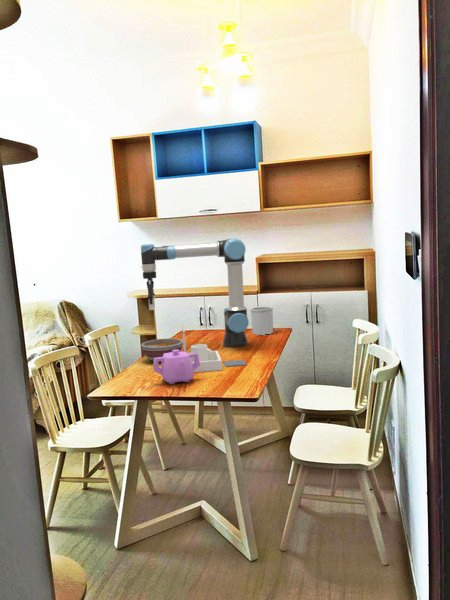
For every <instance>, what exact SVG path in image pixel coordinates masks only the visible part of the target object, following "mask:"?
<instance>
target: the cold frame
mask: <svg viewBox="0 0 450 600" xmlns="http://www.w3.org/2000/svg"><path fill="white" fill-rule="evenodd" d="M181 329H182V342H183V345H182V346H183V351H184V352H186V353H188V354H191V352H187V345H186V344H187V343H186V329H185V325H184V323H181ZM211 351H212V352H213V354H214V359H213V355H212V353H210V352H208V360H212V359H213V361H201V362H200V366H199V367H197V368H196V369H195V370H194V371H193V372H194V373H205V372H217V371H223V361H222V358H221V356H220V353H219V351H218V350H211ZM190 360H191V362H192V357H191V358H190ZM193 363H194V362H192V364H193Z"/></svg>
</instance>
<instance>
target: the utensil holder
mask: <svg viewBox="0 0 450 600" xmlns="http://www.w3.org/2000/svg"><path fill="white" fill-rule="evenodd" d="M273 309H274V308H273V306H270V305H261V306H253V307H250V310H249V311H250V317H251V328H252V329H251V330H252V335H253V334H257V335H256V336H258V335H263V336H266V335H265V334H270V335H272V334H271V333H273V334H274V317H273Z"/></svg>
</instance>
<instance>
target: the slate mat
mask: <svg viewBox="0 0 450 600" xmlns="http://www.w3.org/2000/svg"><path fill="white" fill-rule="evenodd" d="M222 364H223V365H224V367H225V368H229V367H243V366H247V362H246V361H245V359H233V360H223V361H222Z"/></svg>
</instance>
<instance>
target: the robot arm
mask: <svg viewBox="0 0 450 600" xmlns="http://www.w3.org/2000/svg"><path fill="white" fill-rule="evenodd" d="M245 254H246V245H245V244H244V241H242V240H241V239H239V238H236V237H235V238H228V239H227V238H226V239H224V240H217V241H216V242H207V243H206V242H205V243H193V244H192V243H191V244H190V243H189V244H178V245H176V244H175V245H162V246H155V244H154V243H149V244H148V243H147V244H141V246H140V255H141V267H140V268H142V279H144V280H147V281H146V287H147V297H146V299H148V311H155V296H156V293H155V292H154V285H155V283H154V280H153V279H156V278H157V271H156V270H157V268H156V267H157V265H156V261H167V260H168V261H170V260H175V259H182V258H185V259H186V258H197V257H199V258H200V257H213V256H214V257H215V256H217V257H218V258H224V259H223V260H224V263H225V264H226V265H227V285H228V289H227V290H228V307H225V308H224V309H223V316H224V332H225V334H224V337H223V341H222V345H223V347H226V348H237V347H238V348H239V347H244V346H247V345H248V344H249V342H248V338H247V336H246V332H245V330H247V328H248V327H249V323H250V322H249V318H248V310H247V309H248V308H247V307H246V306H245V301H244V300H245V299H244V297H245V296H244V277H243V272H244V271H243V264H244V263H245V261H246V259H245Z"/></svg>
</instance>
